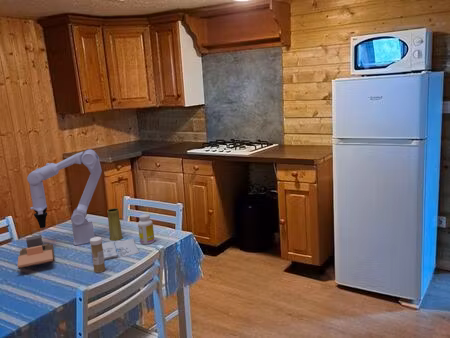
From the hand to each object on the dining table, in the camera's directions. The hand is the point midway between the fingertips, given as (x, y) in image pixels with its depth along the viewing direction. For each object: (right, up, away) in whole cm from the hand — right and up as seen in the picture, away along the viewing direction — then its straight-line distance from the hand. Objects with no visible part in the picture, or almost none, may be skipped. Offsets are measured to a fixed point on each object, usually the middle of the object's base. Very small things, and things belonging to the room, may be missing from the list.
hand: (42, 225), depth 196 cm
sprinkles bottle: (+35, -15, -27) cm, 46 cm away
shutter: (+6, -11, -22) cm, 25 cm away
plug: (+1, -12, -9) cm, 15 cm away
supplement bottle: (+48, -8, 0) cm, 49 cm away
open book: (+36, -11, -8) cm, 38 cm away
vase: (+32, -7, +7) cm, 34 cm away
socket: (+1, -13, -9) cm, 16 cm away
